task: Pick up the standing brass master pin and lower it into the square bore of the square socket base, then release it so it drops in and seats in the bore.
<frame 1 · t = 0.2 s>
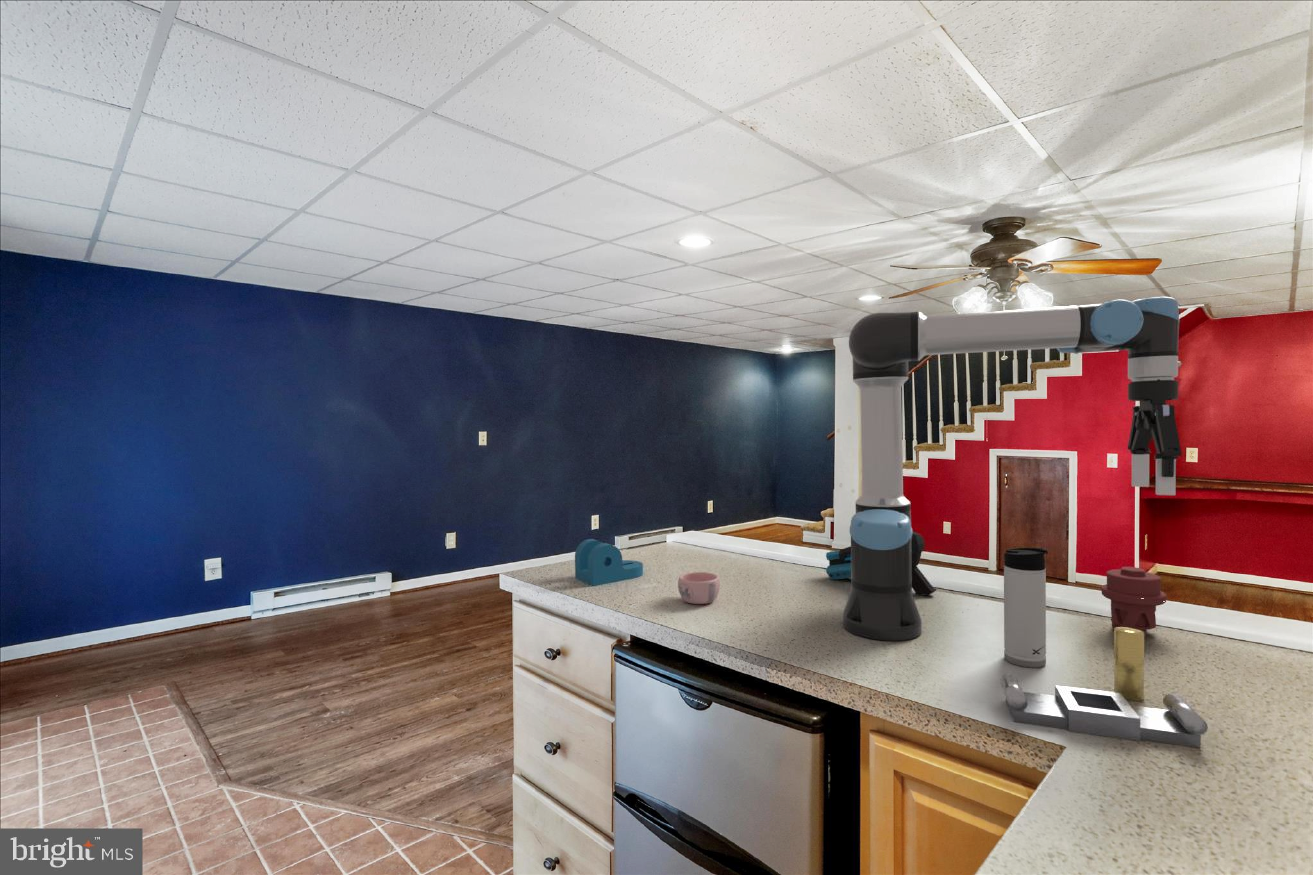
hand: (1152, 490, 119), 28 cm above the counter, fingers open, 13 cm apart
travel mug: (1025, 662, 108), on the counter
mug: (696, 601, 148), on the counter
square socket base: (1095, 721, 86), on the counter
master pin: (1128, 695, 94), on the counter
camera mount: (613, 577, 172), on the counter
mechanical component: (1132, 632, 121), on the counter
gun: (878, 587, 157), on the counter
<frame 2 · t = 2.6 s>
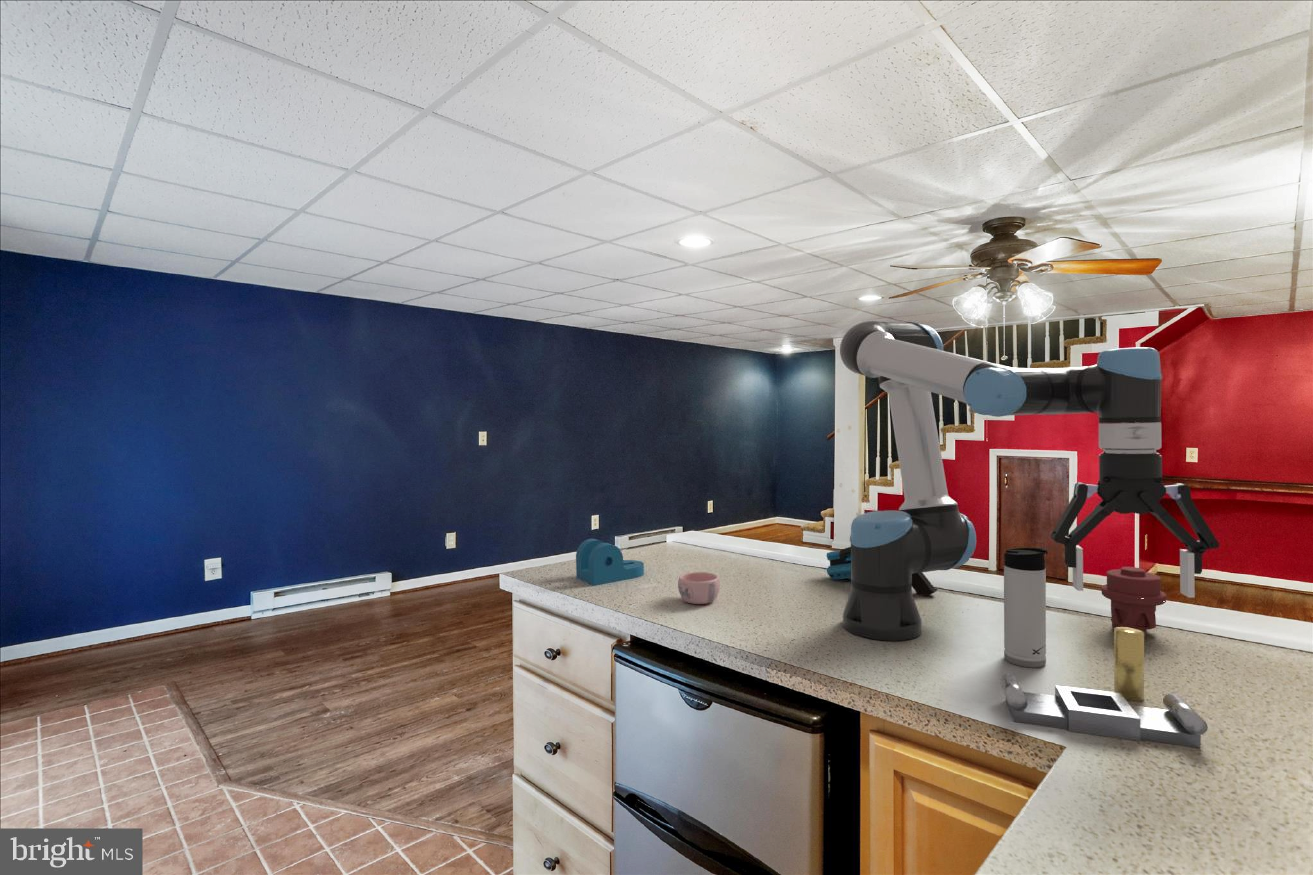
hand: (1131, 592, 93), 16 cm above the counter, fingers open, 13 cm apart
nothing on the counter moved.
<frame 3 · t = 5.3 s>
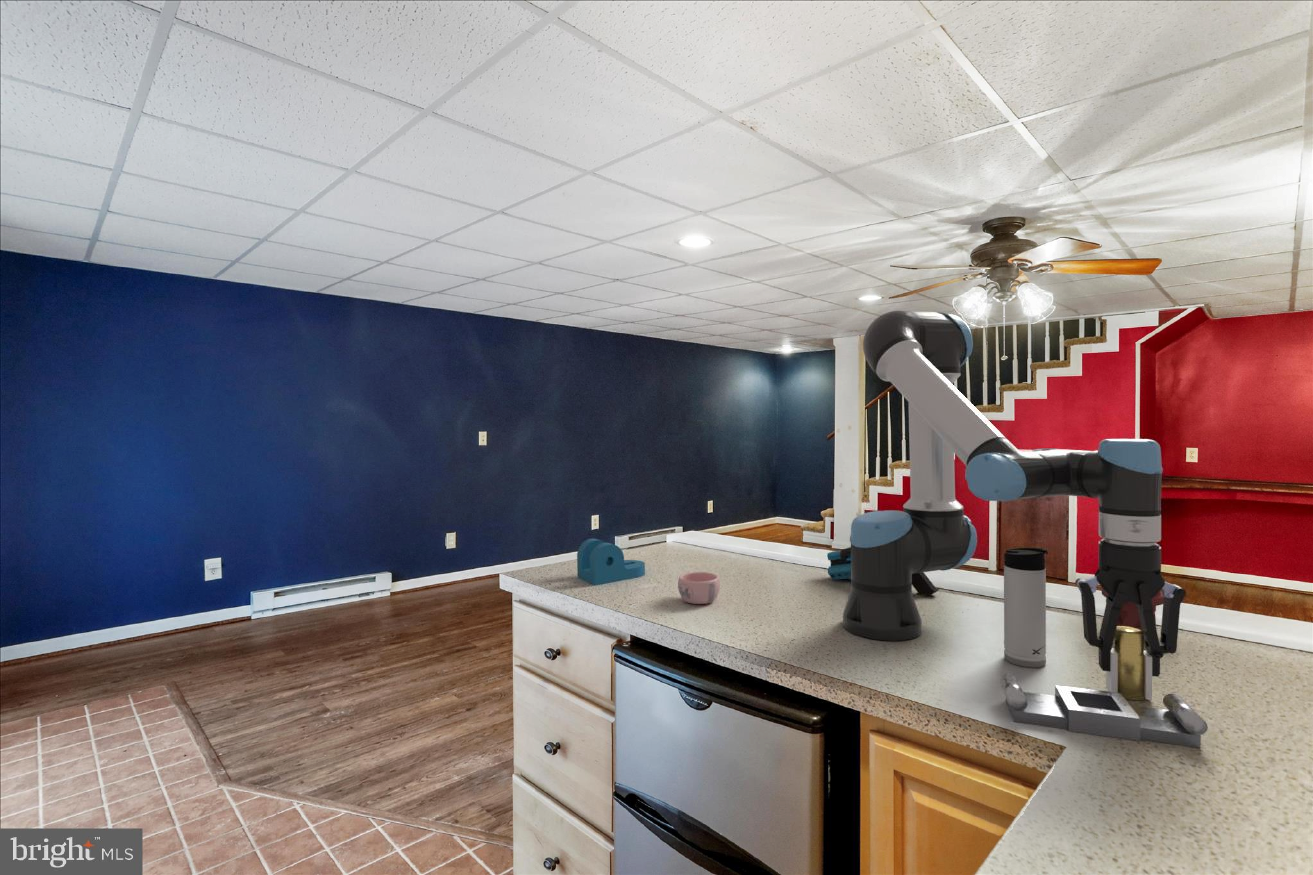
hand: (1128, 693, 94), 0 cm above the counter, fingers closed on master pin, 3 cm apart
master pin: (1128, 694, 94), on the counter, touching gripper
everything else where it was.
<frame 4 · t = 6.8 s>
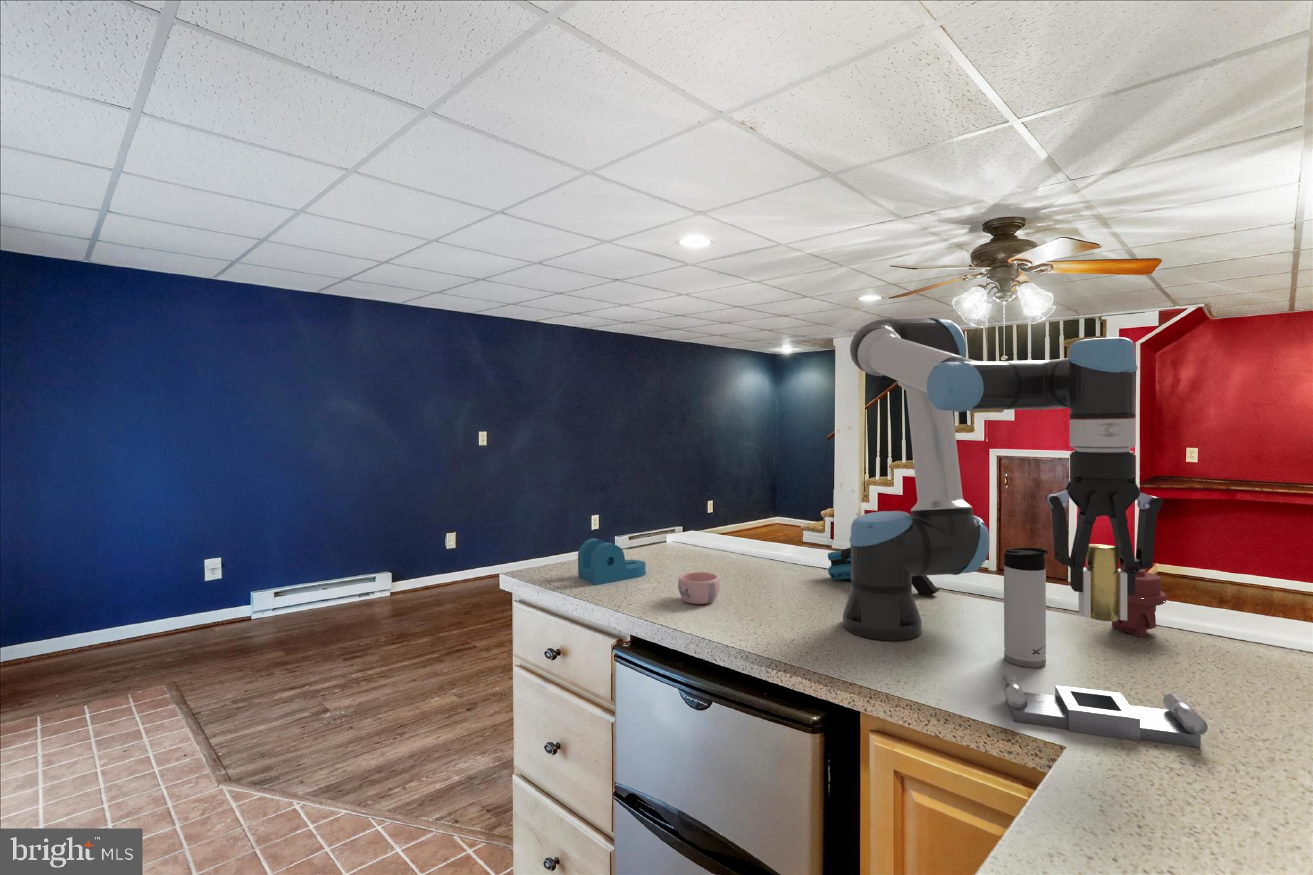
hand: (1102, 615, 87), 15 cm above the counter, fingers closed on master pin, 3 cm apart
master pin: (1102, 617, 87), point 14 cm above the counter, touching gripper
everything else where it was.
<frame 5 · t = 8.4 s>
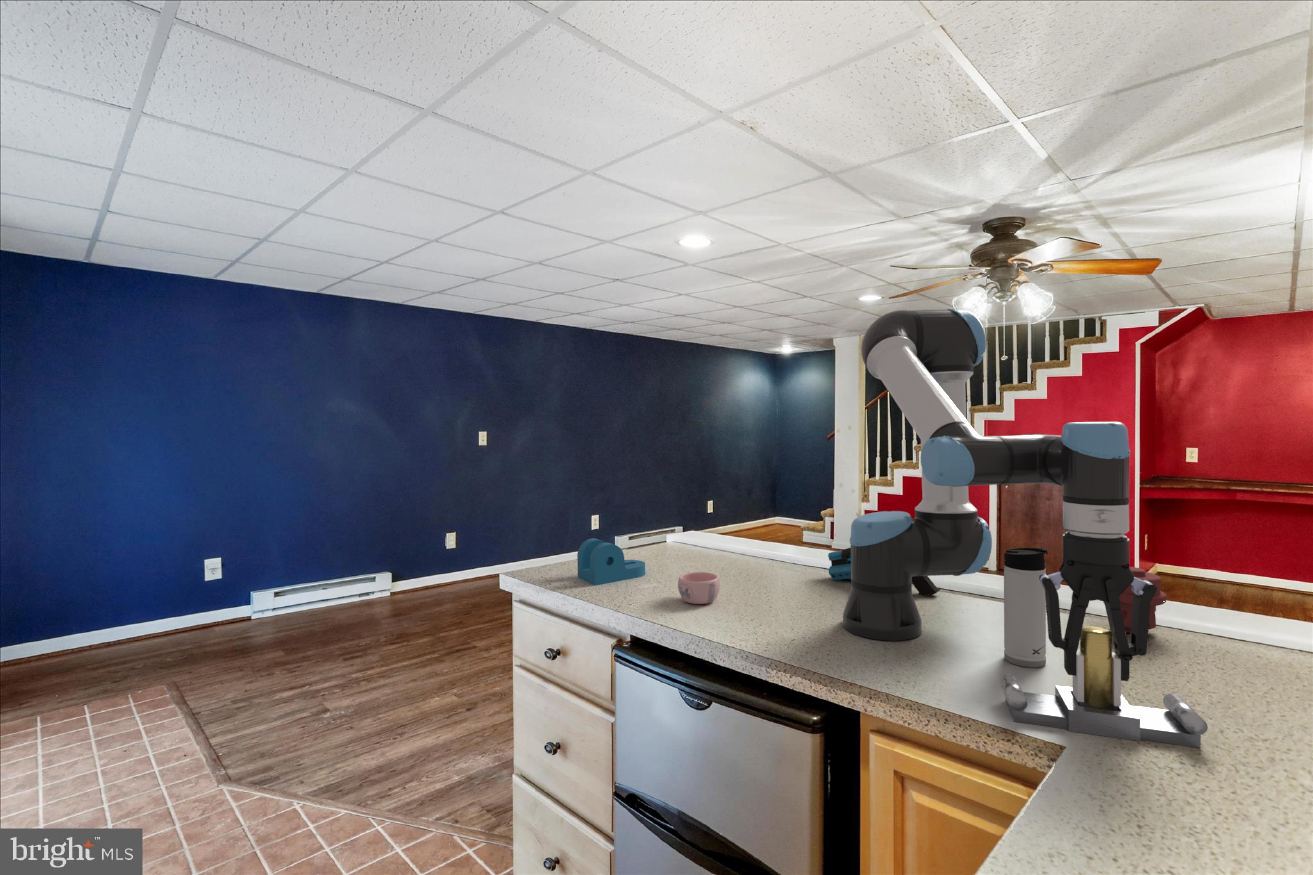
hand: (1096, 699, 86), 3 cm above the counter, fingers closed on master pin, 4 cm apart
master pin: (1096, 701, 86), point 3 cm above the counter, touching gripper
everything else where it was.
when the fingers open (3 cm above the counter, at t = 10.4 s): master pin drops 2 cm, resting in square socket base.
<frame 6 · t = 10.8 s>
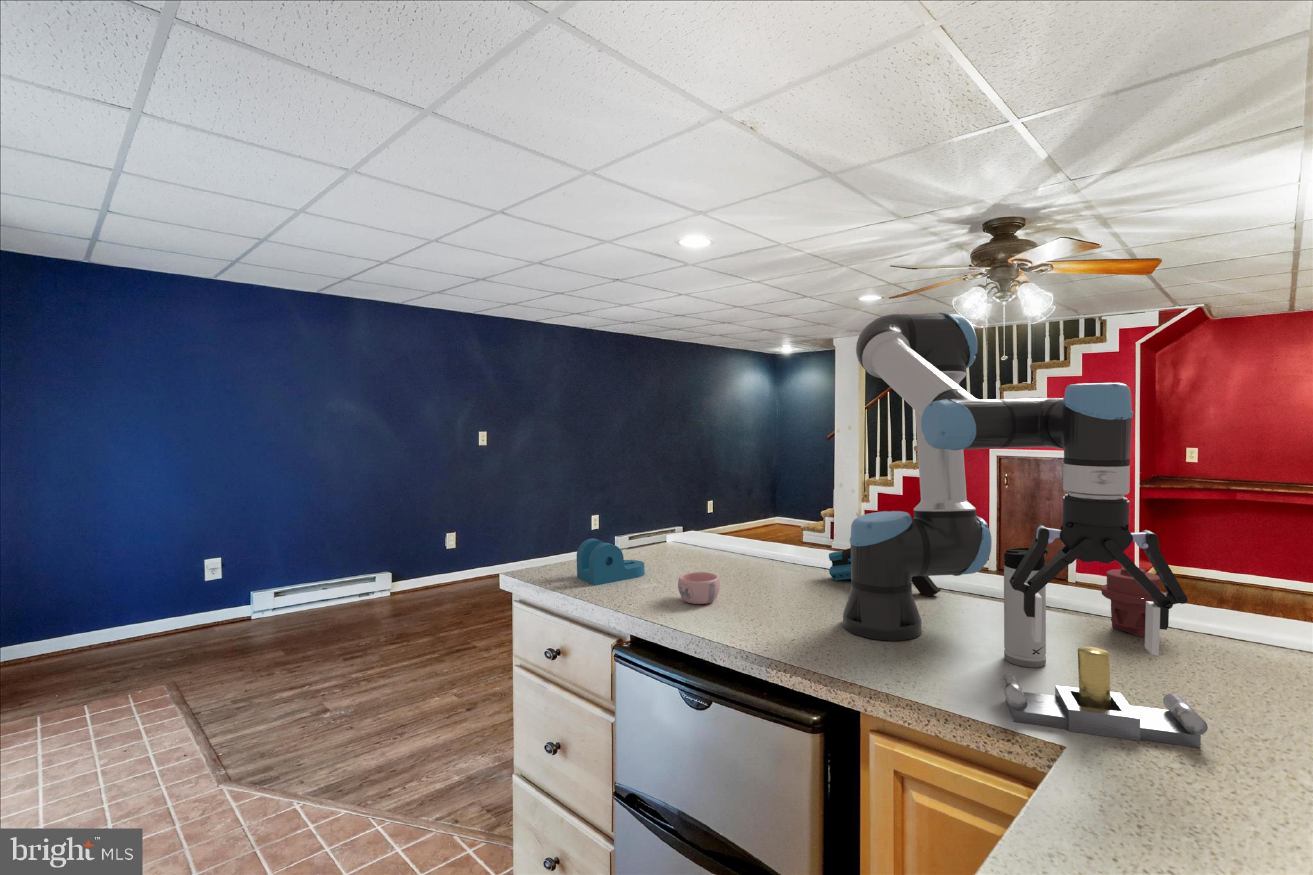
hand: (1092, 645, 86), 11 cm above the counter, fingers open, 13 cm apart
master pin: (1095, 722, 86), resting in square socket base
everything else where it was.
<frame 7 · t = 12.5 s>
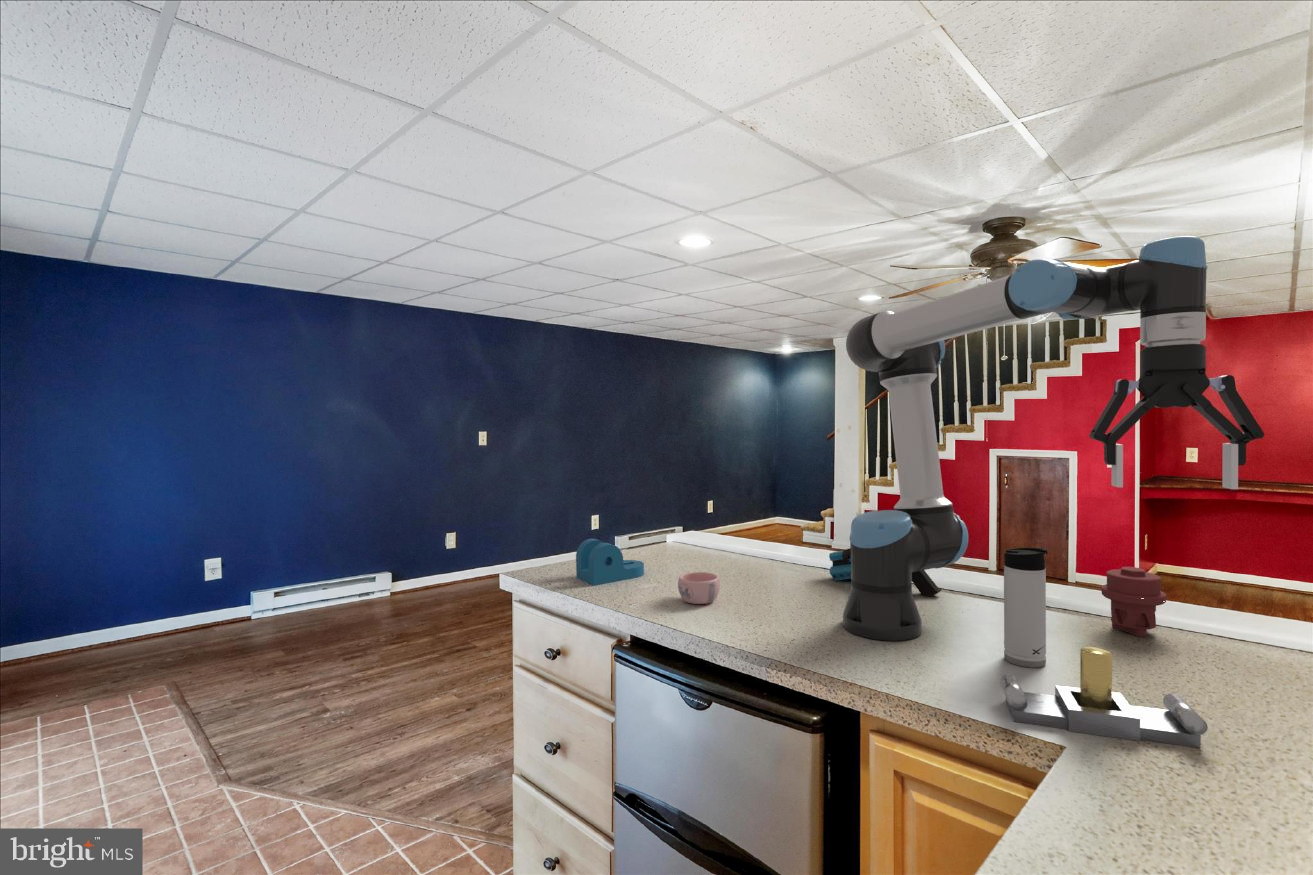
hand: (1172, 487, 92), 32 cm above the counter, fingers open, 13 cm apart
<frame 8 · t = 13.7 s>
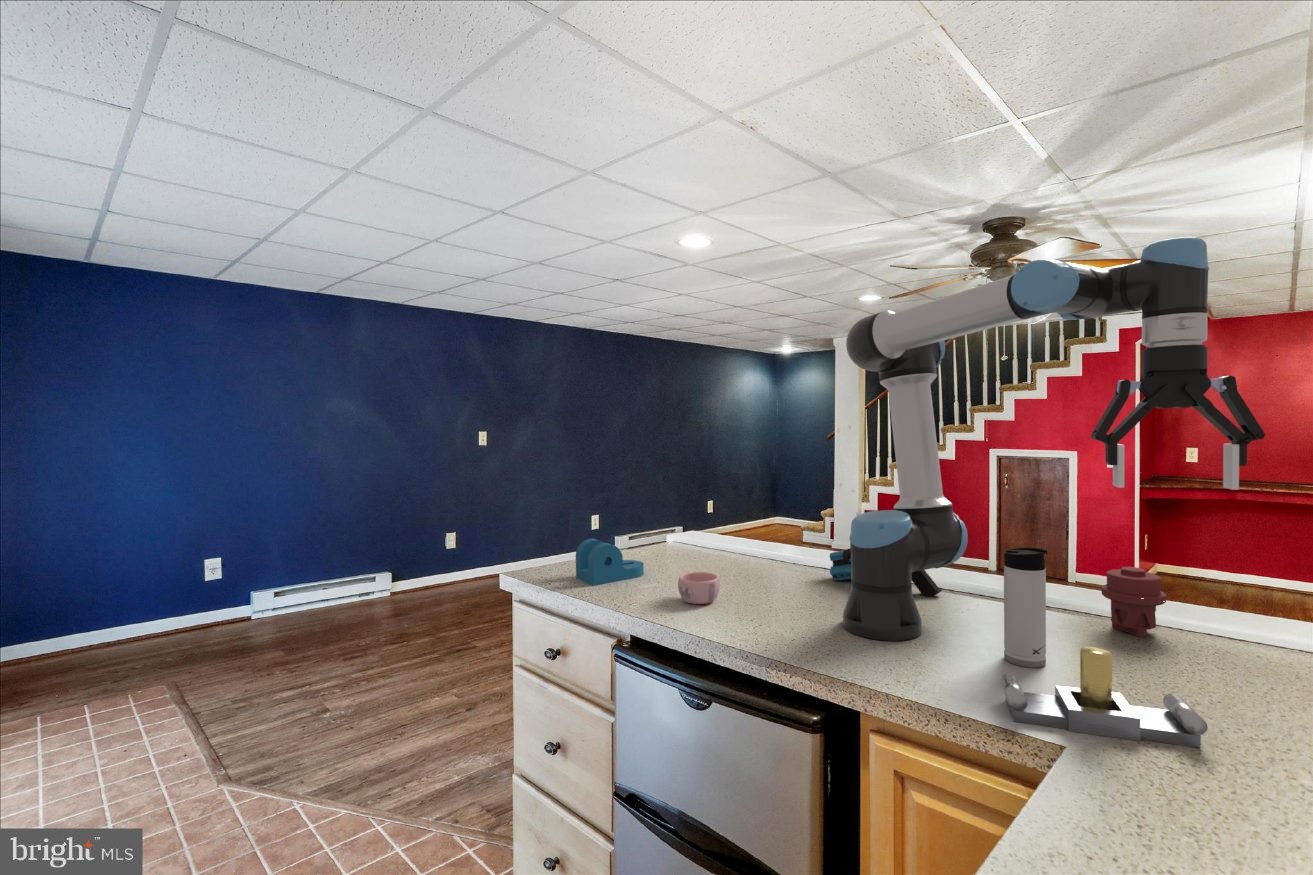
hand: (1173, 487, 92), 32 cm above the counter, fingers open, 13 cm apart
at the end: master pin 0.1 cm off-centre on the square socket base, point 0.0 cm above the square socket base's base; master pin tilted 0°; the gripper is holding nothing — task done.
